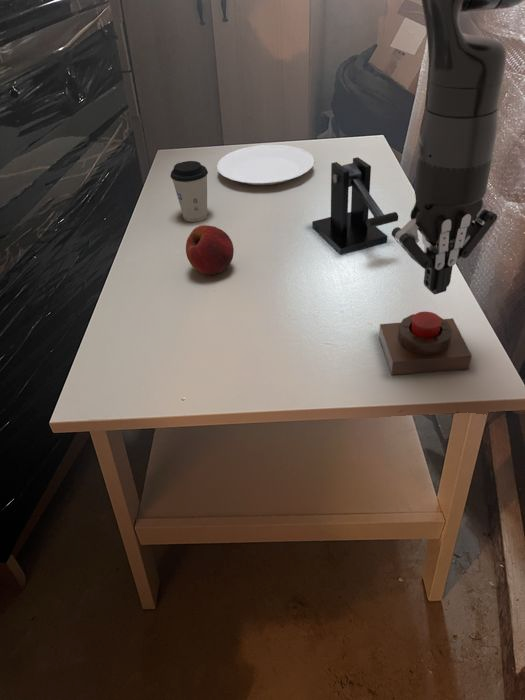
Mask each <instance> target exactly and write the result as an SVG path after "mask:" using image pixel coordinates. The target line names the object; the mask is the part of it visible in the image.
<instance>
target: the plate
mask: <svg viewBox="0 0 525 700" xmlns="http://www.w3.org/2000/svg"><path fill="white" fill-rule="evenodd" d="M314 164H315V157H313V155H312V154H311V153H310V152H308V151H307V150H305V149H302V148H301V147H300V148H299V147H297V146H292V145H286V144H257V145H252V146H247V147H243V148H240V149H237V150H234V151H231V152H229V153H227V154H225V155H224V156H223V157H221V158H220V159H219V160H218V162H217V165H216V169H217V171H218V173H219V174H220V175H221V176H223V178H226V179H229V180H231V181H235V182H239V183H242V184H247V185H250V186H273V185H277V184H282V183H285V182H288V181H291V180H292V179H295V178H299V177H300V176H302V175H304V174H306V173H308V172H309V171H310V170H311V169H312V168H313V167H314Z"/></svg>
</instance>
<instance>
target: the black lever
mask: <svg viewBox="0 0 525 700" xmlns="http://www.w3.org/2000/svg"><path fill="white" fill-rule="evenodd" d="M341 166H343V167H344V168H345V169H347V170H348V171H349V188H352V186H353V187H354V188H355V190H356V191H357V193H358V194H359V196H360V197H361V198H362V200H363V201H364V203H365V204H366V206H367V207H368V209H369V212H370V213H371V215H372V216H373V217H370V218H369V217H368V219H367V220H366V225H367V227H368V228H372V227H379V226H383V225H387V224H391V223H395V222H398V221H399V214H398V212H396V211H394V212H390V213H386V214H385V213H384V212H383V211H382V210H381V208H380V206H379V205H378V204H377V202H376V201H375V199H374V198H373V196H372V195H371V193H370V194H369V192H368V191H367V190H366V188H365V187H364V185H363V184H362V183H361V181H360V178H361V174H362V173H361V172H360V170H359V169H358V167H357V166H356V165H355V163H353V162H351V163H347V164H343V165H341Z"/></svg>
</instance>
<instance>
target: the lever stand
mask: <svg viewBox="0 0 525 700" xmlns="http://www.w3.org/2000/svg"><path fill="white" fill-rule="evenodd" d="M352 163H355V165H356V166H357V167H358V169H359V170H360V172H361V173H362V174H361V178H360V181H361V183H362V184H363V185H364V187H365V188H366V190H367V191H368V192H369V194H370V195H371V193H370V192H371V191H370V190H371V175H372V166H371V165H370V164H369V163H367V162H366V161H365V160H363V159H361V158H360V157H358V156H357V157H353V158H352ZM330 169H331V170H330V172H331V173H330V216H328V217H324V218H321V219H317V220H313V221H312V222H311V226H312V229H313V230H315V231H316V233H318V234H319V235H320V236H321V237H322V238H323V240H325V241H326V242H327V243H328V244H329V245H330V246H331V247H332V248H333V249H334V250H335V251H336V252H337V253H338V254H339V255H344V254H348V253H351V252H355V251H360V250H363V249H367V248H370V247H374V246H377V245H381V244H385V243H387V242H388V235H387V234H386V233H385V232H383V231H382V230H381V229H379V228H378V226H376V227H372V228H368V227H367V225H366V220H367V219H369V212H370V210H369V209H368V207H367V206H366V204H365V203H364V201H363V200H362V198H361V197H360V196H359V194H358V193H357V191H356V190H355V188H354V187H353V186H351V196H350V197H351V201H350V211H349V189H350V187H349V171H348V170H347V169H345V168H344V167H343V166H342V165H341V164H340V163H339V162H337V161H335V162H331V164H330Z"/></svg>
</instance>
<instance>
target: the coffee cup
mask: <svg viewBox="0 0 525 700" xmlns="http://www.w3.org/2000/svg"><path fill="white" fill-rule="evenodd" d="M208 174H209V171H208V169H207V168H206V166H205V165H203V164H202V163H201V162H199V161H197V160H187V161H181V162H177V163H176V164H174V165H173V169H171V172H170V179H172V183H173V185H174V190H175V192H176V193H175V194H176V196H177V199H178V203H179V207H180V210H181V213H182V216H183V217H182V218H183V220H185V221H186V222H189V223H191V222H192V223H196V222H200V221H203V220H205V219H206V218H207V217H208Z"/></svg>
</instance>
